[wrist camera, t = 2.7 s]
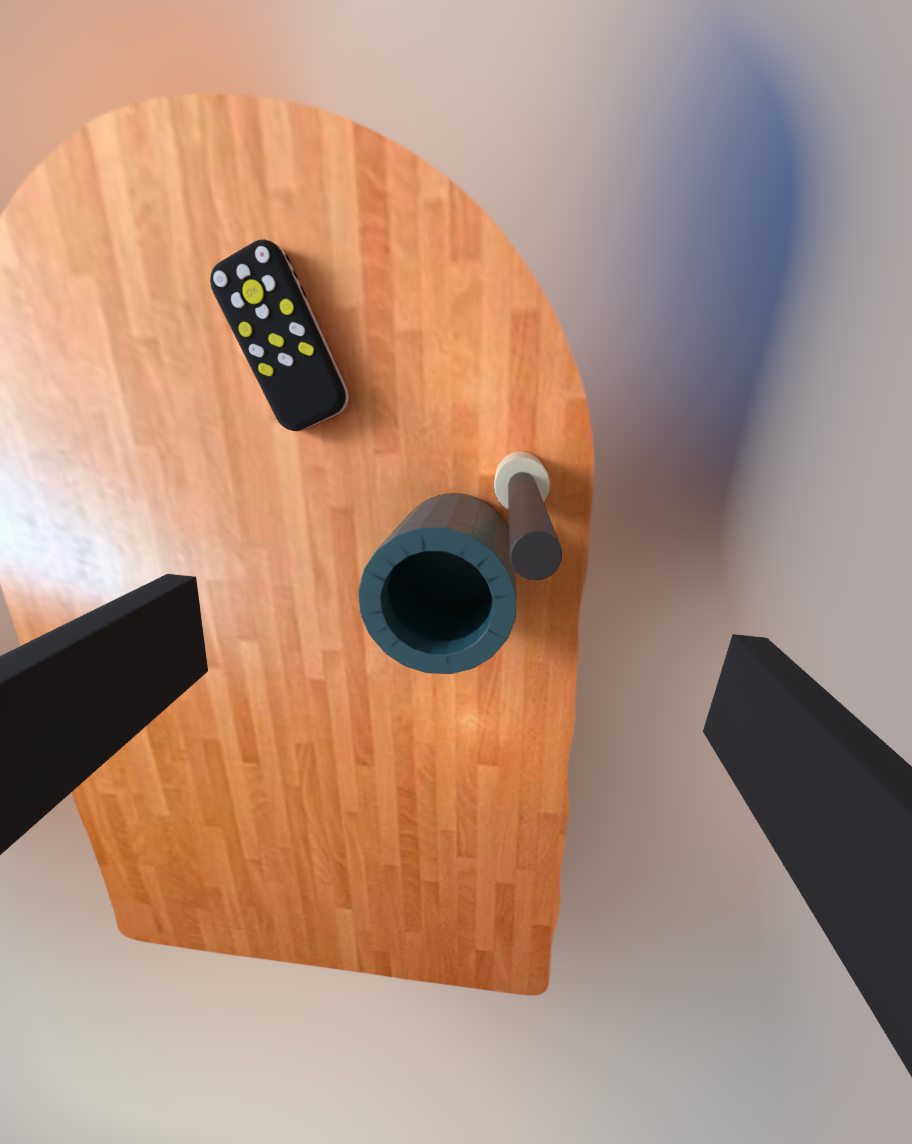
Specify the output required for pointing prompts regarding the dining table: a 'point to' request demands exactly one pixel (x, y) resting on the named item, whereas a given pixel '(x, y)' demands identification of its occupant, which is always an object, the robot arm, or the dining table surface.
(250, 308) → the remote control
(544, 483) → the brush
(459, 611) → the jar
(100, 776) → the dining table surface
